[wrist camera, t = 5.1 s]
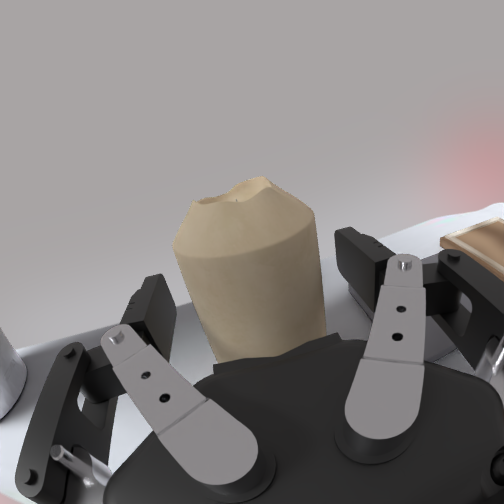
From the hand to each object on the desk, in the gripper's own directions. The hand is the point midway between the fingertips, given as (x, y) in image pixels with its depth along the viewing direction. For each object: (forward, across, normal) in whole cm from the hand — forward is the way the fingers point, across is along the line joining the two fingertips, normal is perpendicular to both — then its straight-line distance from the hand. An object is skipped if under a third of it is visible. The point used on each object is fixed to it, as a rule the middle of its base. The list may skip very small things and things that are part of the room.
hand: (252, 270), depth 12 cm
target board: (+1, -23, +6) cm, 24 cm away
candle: (-1, 0, +6) cm, 6 cm away
